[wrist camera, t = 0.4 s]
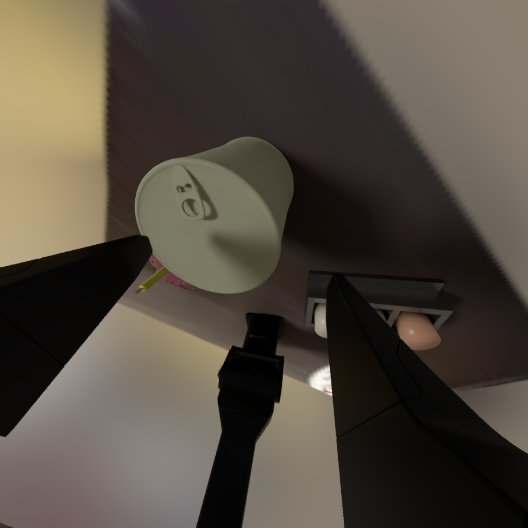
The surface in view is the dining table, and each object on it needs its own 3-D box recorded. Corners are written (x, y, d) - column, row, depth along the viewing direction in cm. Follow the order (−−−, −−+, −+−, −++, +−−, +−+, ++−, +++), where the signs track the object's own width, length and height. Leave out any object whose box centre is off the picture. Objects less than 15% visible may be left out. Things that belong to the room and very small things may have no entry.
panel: (411, 323, 28) (422, 346, 25) (304, 312, 31) (304, 331, 28) (441, 279, 23) (460, 302, 20) (309, 270, 26) (309, 289, 23)
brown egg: (418, 326, 25) (431, 352, 22) (388, 323, 26) (397, 347, 23) (431, 309, 23) (447, 335, 20) (398, 306, 23) (410, 330, 21)
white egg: (339, 317, 27) (342, 340, 24) (313, 314, 27) (313, 336, 25) (344, 300, 25) (348, 323, 22) (315, 298, 25) (316, 319, 23)
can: (290, 128, 17) (267, 141, 7) (296, 223, 22) (287, 301, 13) (198, 145, 19) (90, 172, 10) (224, 228, 24) (171, 297, 15)
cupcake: (166, 204, 24) (74, 260, 14) (231, 219, 23) (179, 287, 14) (176, 257, 29) (114, 323, 20) (229, 270, 29) (190, 343, 19)
